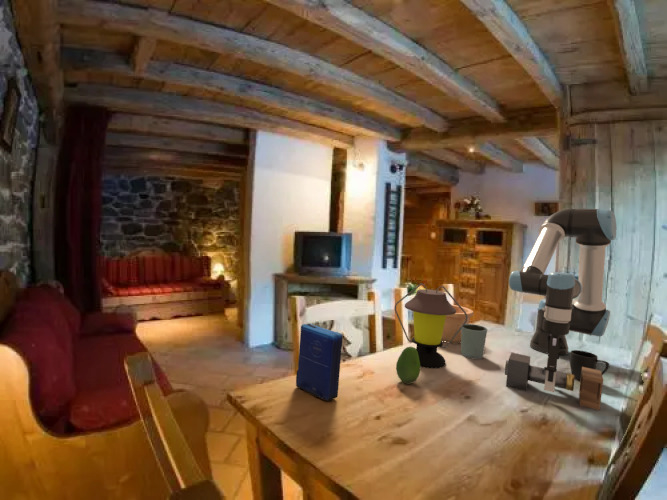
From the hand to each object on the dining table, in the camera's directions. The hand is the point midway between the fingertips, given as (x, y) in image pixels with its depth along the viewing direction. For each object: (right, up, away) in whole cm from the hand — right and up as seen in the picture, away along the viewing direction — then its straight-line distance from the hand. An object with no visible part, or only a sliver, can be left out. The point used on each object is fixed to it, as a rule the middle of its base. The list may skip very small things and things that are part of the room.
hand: (549, 383), depth 125 cm
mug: (+21, -4, +12) cm, 24 cm away
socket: (+9, -4, -5) cm, 11 cm away
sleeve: (-8, -2, +5) cm, 10 cm away
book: (-76, +1, -12) cm, 77 cm away
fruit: (-47, 0, +1) cm, 47 cm away
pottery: (-17, +2, +56) cm, 59 cm away
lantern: (-35, +1, +22) cm, 42 cm away
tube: (-3, 0, +2) cm, 4 cm away
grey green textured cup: (-14, 0, +33) cm, 36 cm away
